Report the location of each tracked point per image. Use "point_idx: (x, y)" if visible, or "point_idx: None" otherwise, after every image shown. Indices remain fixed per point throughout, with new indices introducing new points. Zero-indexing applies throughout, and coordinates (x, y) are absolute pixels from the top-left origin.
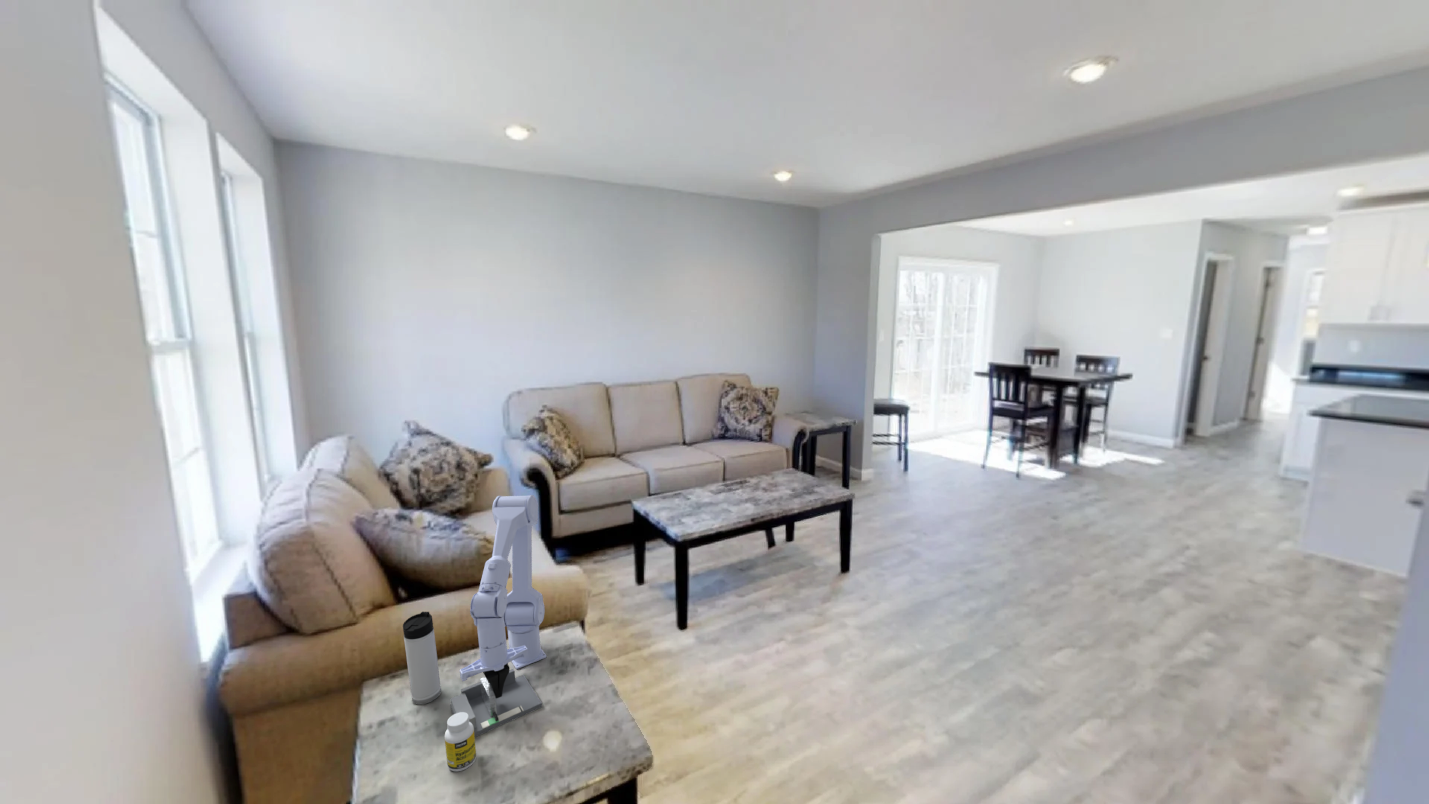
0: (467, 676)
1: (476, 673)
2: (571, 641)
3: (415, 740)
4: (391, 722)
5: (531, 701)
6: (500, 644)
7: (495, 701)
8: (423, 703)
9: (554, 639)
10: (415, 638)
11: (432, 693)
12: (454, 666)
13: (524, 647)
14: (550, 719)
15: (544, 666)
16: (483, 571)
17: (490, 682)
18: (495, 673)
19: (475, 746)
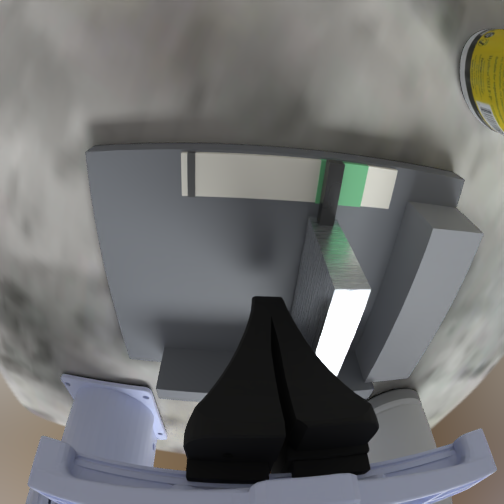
0: (451, 452)
1: (404, 462)
2: (8, 374)
3: (500, 284)
4: (474, 364)
5: (126, 196)
6: None
7: (324, 258)
8: (410, 390)
9: (48, 403)
10: None
11: (396, 408)
12: None
13: (51, 498)
14: (91, 34)
15: (67, 349)
16: None
17: (342, 385)
18: (307, 438)
19: (488, 57)
